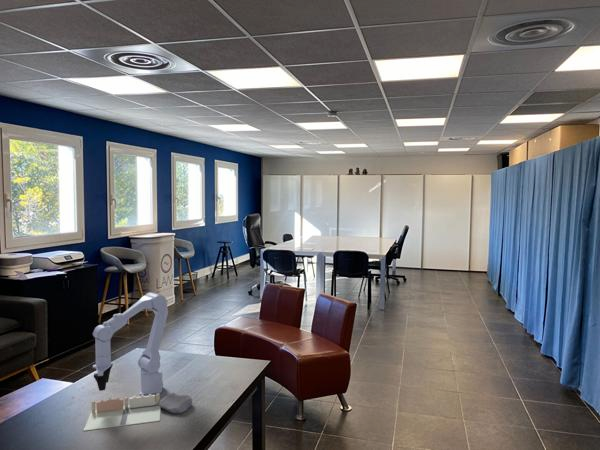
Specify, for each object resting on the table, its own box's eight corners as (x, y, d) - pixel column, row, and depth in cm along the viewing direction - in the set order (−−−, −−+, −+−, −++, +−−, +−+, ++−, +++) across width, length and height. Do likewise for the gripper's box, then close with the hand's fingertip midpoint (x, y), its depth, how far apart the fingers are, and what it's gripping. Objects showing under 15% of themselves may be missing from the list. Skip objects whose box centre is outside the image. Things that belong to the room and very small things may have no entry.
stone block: (180, 419, 170) (194, 403, 179) (179, 408, 169) (193, 393, 178) (156, 414, 174) (170, 399, 183) (154, 404, 173) (169, 389, 182)
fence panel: (123, 407, 175) (123, 396, 175) (123, 409, 174) (123, 398, 173) (91, 411, 172) (91, 400, 171) (91, 413, 170) (91, 401, 170)
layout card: (161, 401, 182) (161, 400, 182) (159, 421, 166) (159, 420, 166) (92, 409, 174) (92, 408, 174) (83, 431, 158) (83, 430, 158)
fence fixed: (160, 404, 179) (159, 392, 179) (159, 406, 178) (159, 394, 177) (124, 408, 175) (124, 396, 175) (124, 410, 174) (124, 398, 174)
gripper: (95, 349, 183) (96, 380, 183) (89, 361, 169) (89, 394, 169) (113, 347, 184) (114, 378, 185) (108, 359, 170) (108, 392, 171)
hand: (103, 386), depth 177 cm, fingers open, 7 cm apart
